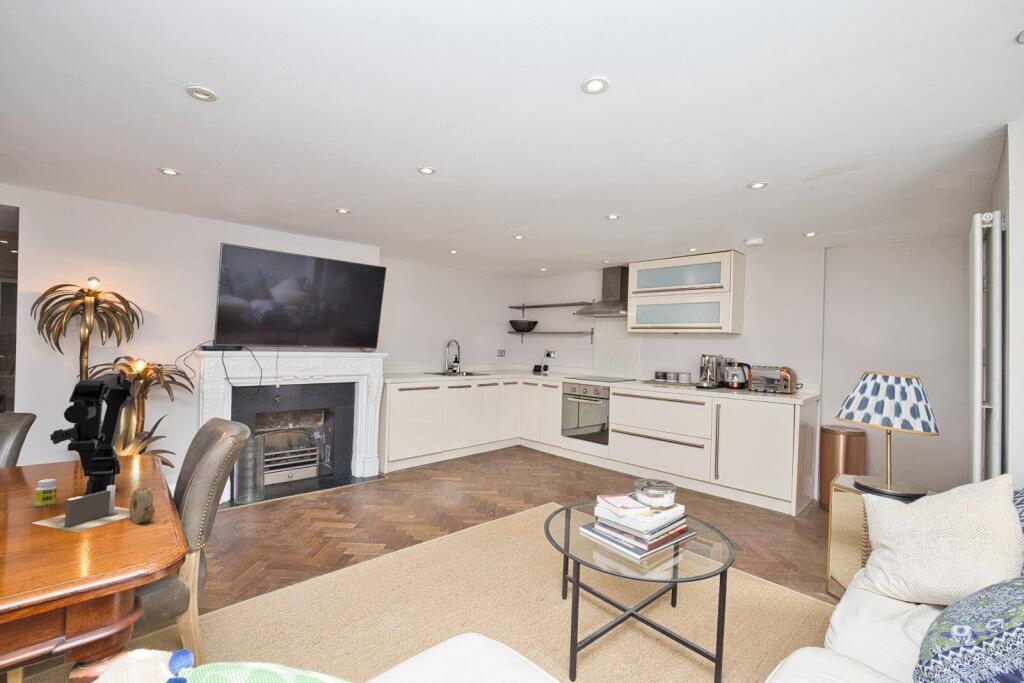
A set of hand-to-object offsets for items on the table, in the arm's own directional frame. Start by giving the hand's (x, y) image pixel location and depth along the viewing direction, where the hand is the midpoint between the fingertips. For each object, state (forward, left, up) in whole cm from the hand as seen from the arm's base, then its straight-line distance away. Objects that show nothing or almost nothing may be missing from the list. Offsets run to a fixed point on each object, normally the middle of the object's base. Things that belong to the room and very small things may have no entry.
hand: (85, 468), depth 146 cm
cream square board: (+7, +15, -12) cm, 20 cm away
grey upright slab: (+9, +18, -11) cm, 23 cm away
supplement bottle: (+5, -8, -12) cm, 15 cm away
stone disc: (+4, +30, -12) cm, 33 cm away
